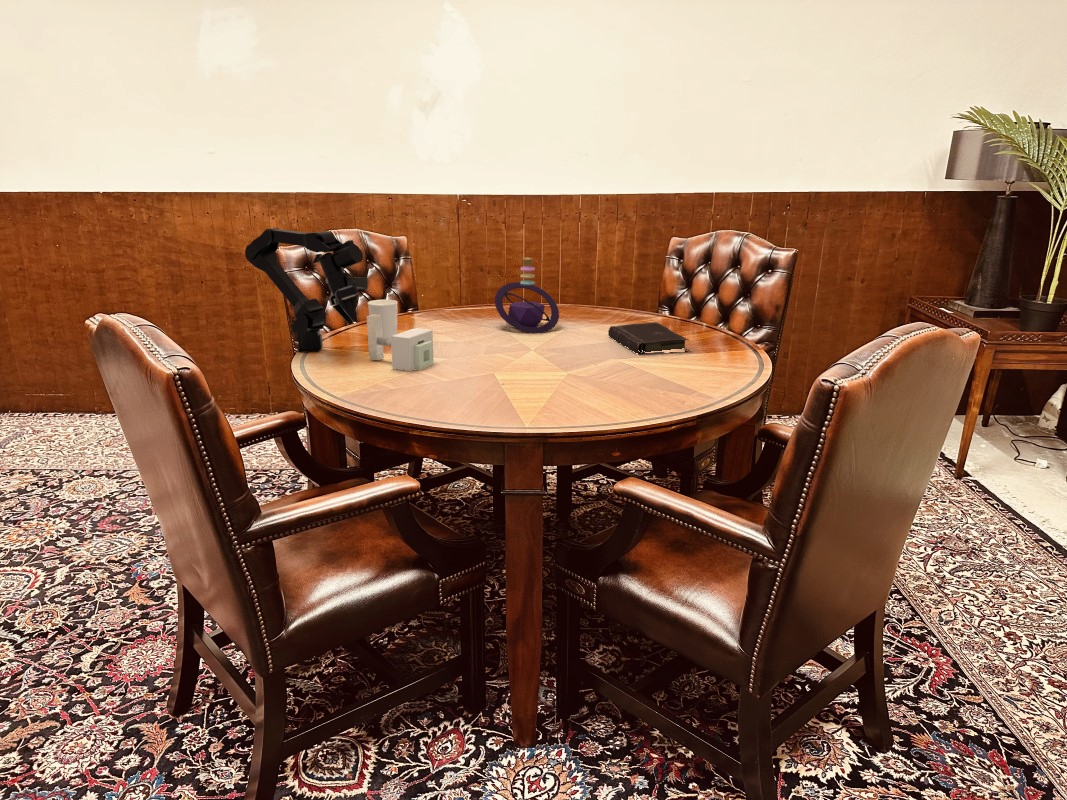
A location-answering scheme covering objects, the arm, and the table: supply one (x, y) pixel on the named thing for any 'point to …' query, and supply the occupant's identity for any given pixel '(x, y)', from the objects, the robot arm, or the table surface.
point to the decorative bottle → (526, 305)
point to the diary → (647, 337)
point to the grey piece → (376, 337)
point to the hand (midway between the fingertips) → (353, 323)
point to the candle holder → (385, 315)
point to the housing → (408, 347)
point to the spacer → (419, 350)
